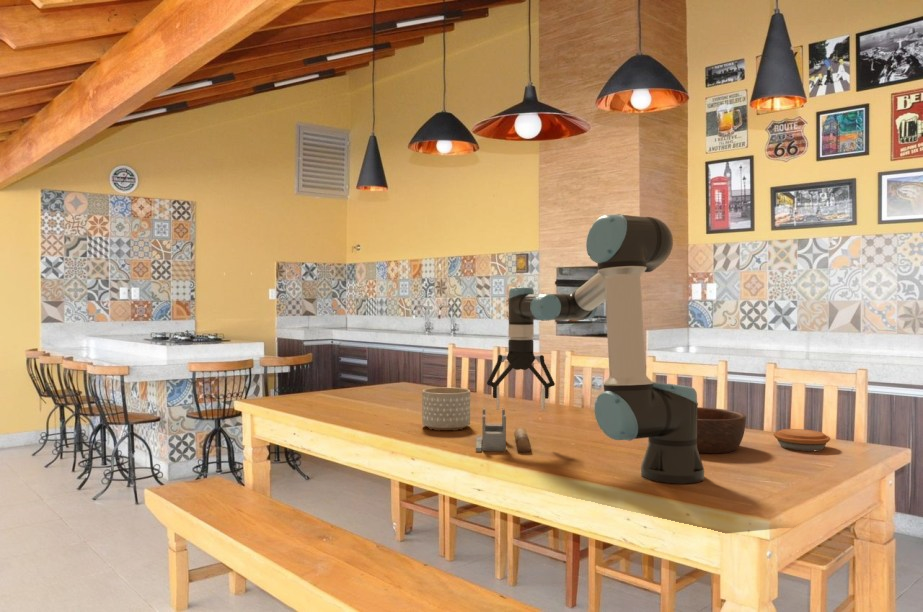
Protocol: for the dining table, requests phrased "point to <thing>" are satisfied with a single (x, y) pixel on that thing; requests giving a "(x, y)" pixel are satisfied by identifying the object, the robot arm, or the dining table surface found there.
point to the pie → (801, 439)
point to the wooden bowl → (719, 430)
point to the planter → (446, 408)
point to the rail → (522, 440)
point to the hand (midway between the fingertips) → (520, 409)
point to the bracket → (492, 435)
